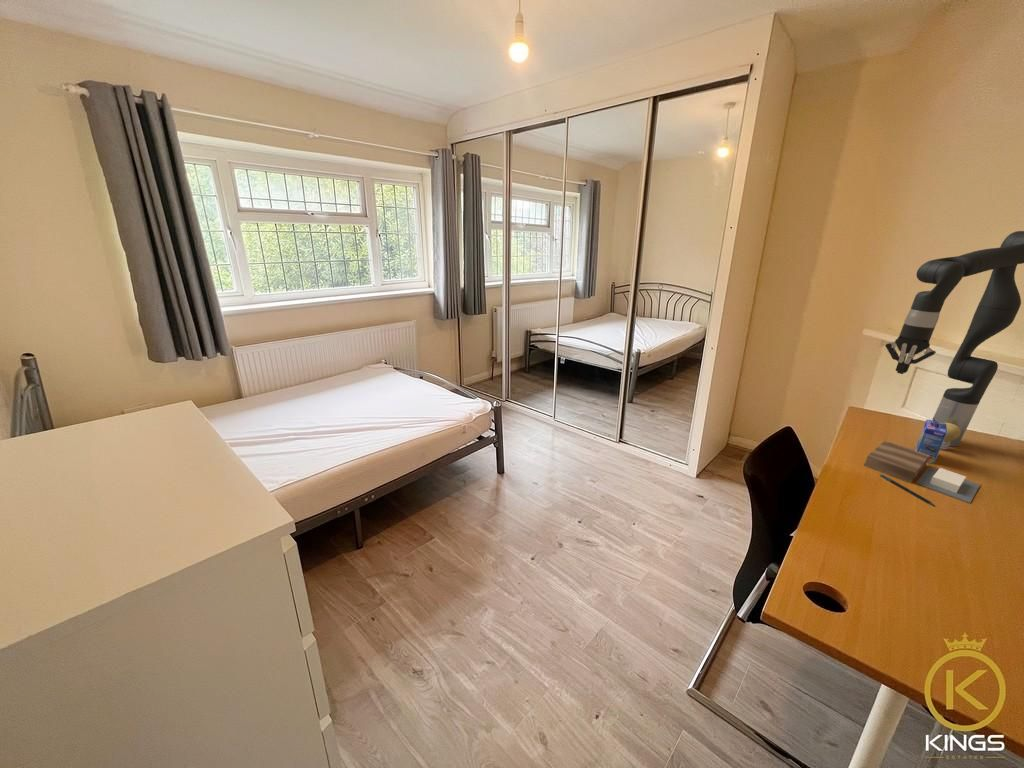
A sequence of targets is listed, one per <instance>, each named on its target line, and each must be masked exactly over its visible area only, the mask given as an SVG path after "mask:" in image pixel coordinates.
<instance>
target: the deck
mask: <svg viewBox="0 0 1024 768" xmlns="http://www.w3.org/2000/svg"><path fill="white" fill-rule="evenodd" d="M929 456H930V455H927V454H924V453H921V452H918V451H915V449H912V448H909V447H905V446H902V445H900V444H897V443H893V442H891V441H888V440H887V441H886V440H883V441H882V443H880V444H879V445H878V446H877V447H876V448H874V449H873V450H872V451H871V452H870V453H869V454H868V455H867V457H866V460H865V462H864V464H863V465H864V467H867V468H869V469H872V470H875V471H878V472H880V473H882V474H886V475H888V476H891V477H893V478H897V479H898V480H902V481H905V482H906V483H913V481H914V480H915V478H916V477H917V476H918V475H919V473H921V471H922V470H923V469H924V468H925V467H926V466H927V465H926V464H927V463H928V462H927V461H928V458H929Z"/></svg>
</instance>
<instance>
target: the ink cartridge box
mask: <svg viewBox="0 0 1024 768" xmlns="http://www.w3.org/2000/svg"><path fill="white" fill-rule="evenodd" d="M932 419H933V420H932ZM932 419H926V420H925V423H924V425H923V428H922V430H921V433H920V436H919V438H918V440H917V442H916V446H915V448H914V450H915V451H918V452H921V453H924V454H927V455H930V456H929V458H928V461H927V463H930V464H935V463H936V460H937V458H938V455H939V453H940V451H941V450H942V449H941V446H942V444H943V441H944V439H945V436H946V434H947V426H946V424H945V423H941V422H937V421H935V418H934V416H933V417H932Z"/></svg>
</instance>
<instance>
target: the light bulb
mask: <svg viewBox="0 0 1024 768" xmlns="http://www.w3.org/2000/svg"><path fill="white" fill-rule="evenodd" d="M945 424H946V426H947V434H946V436H945V439H944V441H943V444H942V446H941V449H940V450H948V449H949V447H950V446H949V444H950V441H952V440H954V439H956V438H958V437H959V436H960V434H961V430H960V428H959V427H958V426H956V425H954V424H952V423H945Z"/></svg>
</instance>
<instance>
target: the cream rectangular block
mask: <svg viewBox="0 0 1024 768" xmlns="http://www.w3.org/2000/svg"><path fill="white" fill-rule="evenodd" d="M937 470H938V471H937V472H936V473H935V475H934V476H933V477H932V479H931V481H930V484H933V485H936V486H938V487H941V488H944V489H947V490H949V491H952V492H955V493H957V491H958V490H959V488H960V487H961V485H962V484H963V482H964V480H965V479H967V476H966V475H962V474H959V473H956V472H953V471H952V470H951V471H950V470H948V469H945V468H942V467H939V468H938V469H937Z"/></svg>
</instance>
